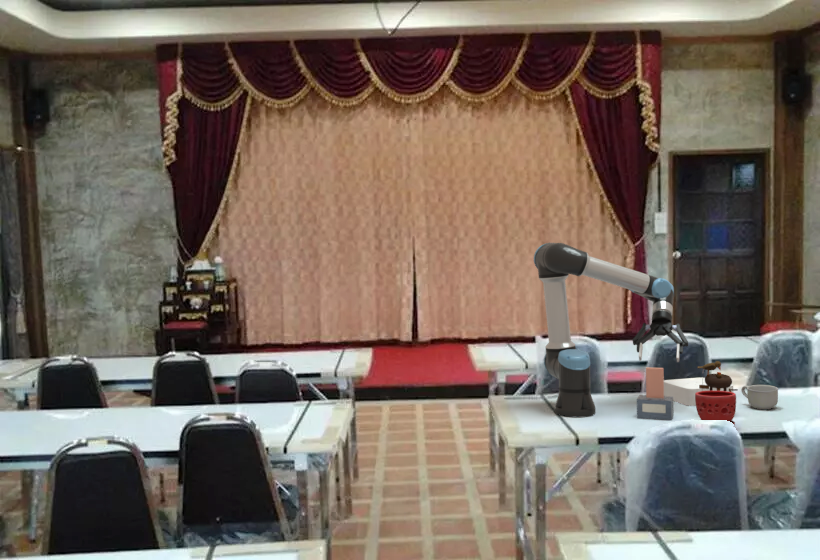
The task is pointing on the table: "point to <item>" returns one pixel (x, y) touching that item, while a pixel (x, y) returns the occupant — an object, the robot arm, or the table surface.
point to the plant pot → (716, 412)
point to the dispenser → (655, 408)
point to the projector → (686, 389)
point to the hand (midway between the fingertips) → (658, 359)
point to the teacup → (761, 396)
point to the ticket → (655, 382)
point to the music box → (716, 378)
